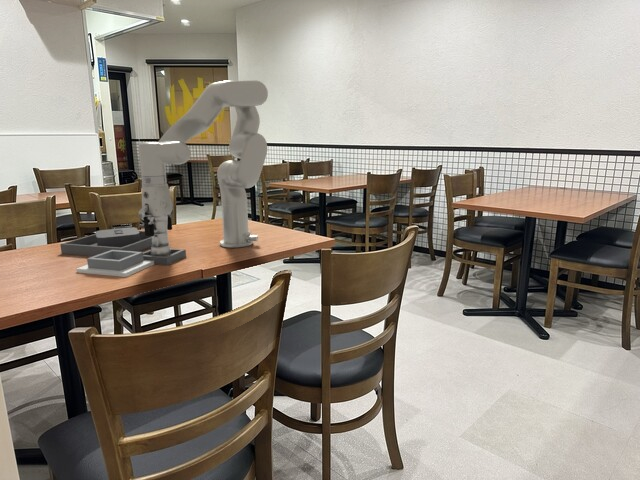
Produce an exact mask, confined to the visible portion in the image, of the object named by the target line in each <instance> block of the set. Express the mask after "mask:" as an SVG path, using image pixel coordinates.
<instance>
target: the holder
mask: <svg viewBox="0 0 640 480" xmlns="http://www.w3.org/2000/svg"><path fill="white" fill-rule="evenodd" d="M142 252H143V258H144V260H151V261H154V265H158V266H160V265H161V266H169V265H172V264H173V263H175V262H178V261H180V260H182V259H184V258H186V257H187V250H186V249H182V248H181V249H180V248H171V255H169V256H166V257H163V256H151V249H147V250H145V251H142Z"/></svg>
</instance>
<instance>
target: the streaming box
mask: <svg viewBox="0 0 640 480" xmlns="http://www.w3.org/2000/svg"><path fill="white" fill-rule="evenodd" d="M139 231H140V230H138V228H137V227H134V226H133V227H122V228H111V229H110V228H109V229H101V230H96V231H95V234H96V239H97V246H106V247H120V248H122V247H124V246H127V245H130V244H133V243H136V242H138V241H140V234H139Z"/></svg>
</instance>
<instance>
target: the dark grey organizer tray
mask: <svg viewBox="0 0 640 480" xmlns="http://www.w3.org/2000/svg"><path fill="white" fill-rule="evenodd" d="M138 231H139V234H140V241H138V242H136V243H133V244H130V245H127V246H124V247H122V248H120V247H106V246H97V239H96V233H94V234H91V235H87V236H83V237H80V238H76V239H72V240H70V241H67V242H62V243H59V244H60V253H61V254H63V255H65V254H66V255H74V256H75V255H78V256H89V257H93V256H96V255H99V254H102V253H104V252H107V251H110V250H121V251H134V252H144V251H147V250H149V249H151V247H152V246H151V236H145V230H138Z"/></svg>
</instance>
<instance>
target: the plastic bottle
mask: <svg viewBox="0 0 640 480" xmlns="http://www.w3.org/2000/svg"><path fill="white" fill-rule="evenodd" d="M148 219H150V218H148ZM152 224H154V234H155V235H154V236H151V246H152V247H151V248H150V250H151V256H163V257H166V256H169V255H171V249H172V248H171V245H170V240H169V234H168V232H169V230H167V224H168V216H167V214H164V215H162V216H160V217H154V219H153V222H152Z"/></svg>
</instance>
